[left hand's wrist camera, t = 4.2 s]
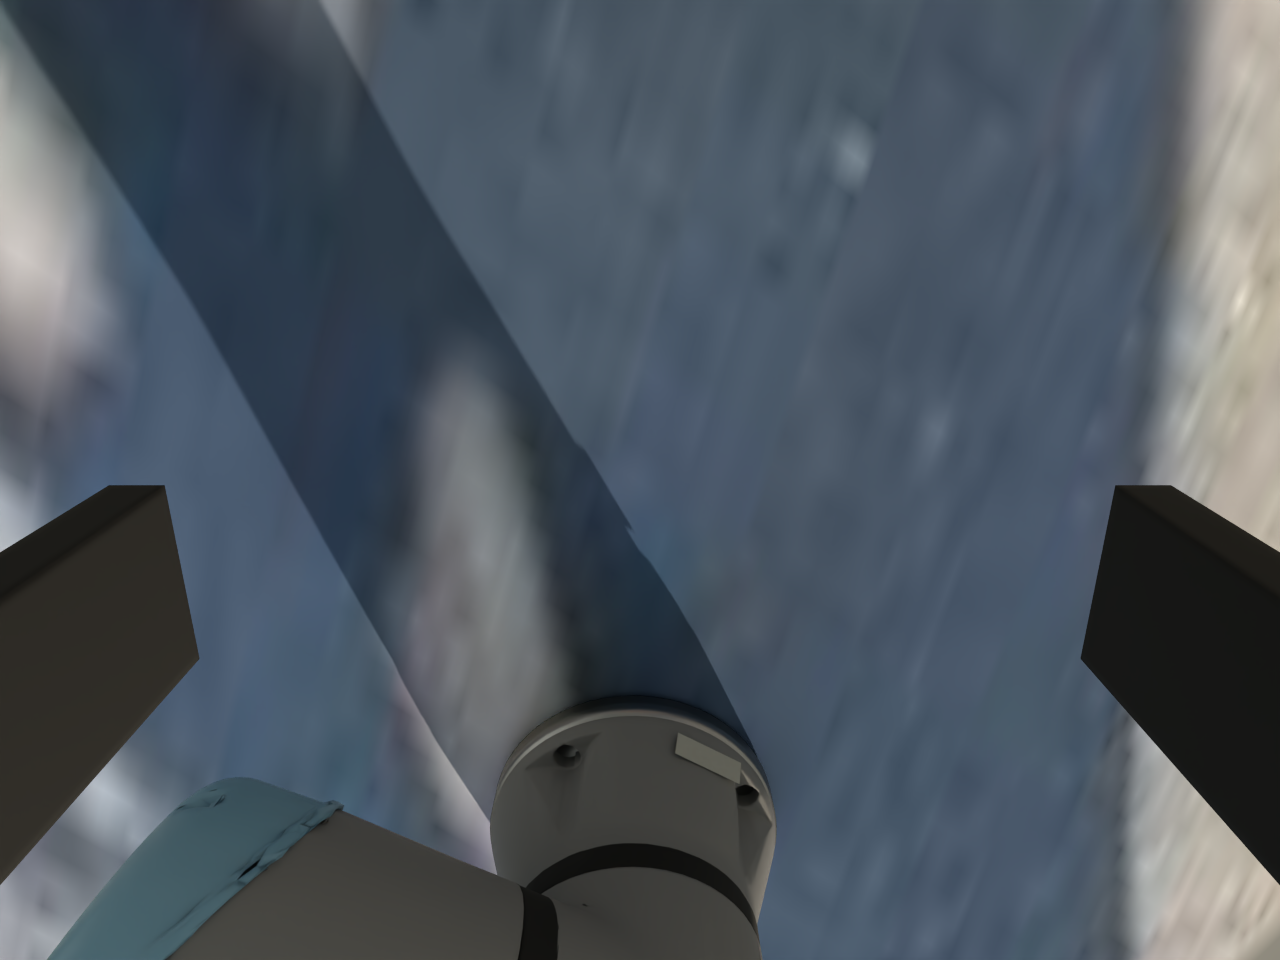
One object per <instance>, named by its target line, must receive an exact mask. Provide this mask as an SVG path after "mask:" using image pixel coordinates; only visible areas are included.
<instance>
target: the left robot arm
mask: <svg viewBox="0 0 1280 960" xmlns="http://www.w3.org/2000/svg"><path fill="white" fill-rule="evenodd" d="M198 660H199V654H198V649H197V644H196V639H195V634H194V629H193V624H192V619H191V615H190V610H189V605H188V600H187V595H186V590H185V585H184V580H183V575H182V570H181V565H180V560H179V555H178V550H177V545H176V540H175V535H174V530H173V525H172V520H171V515H170V510H169V505H168V500H167V495H166V490H165V485H109V486H107V487H106V488H104V489H102V490H101V491H99V492H98V493H96V494H94V495H93V496H91V497H89V498H88V499H86V500H85V501H83V502H81V503H80V504H78V505H76V506H75V507H73V508H72V509H70V510H68V511H67V512H65V513H63V514H62V515H60V516H59V517H57V518H55V519H54V520H52V521H50V522H49V523H47V524H46V525H44V526H42V527H41V528H39V529H37V530H36V531H34V532H33V533H31V534H29V535H28V536H26V537H25V538H23V539H21V540H20V541H18V542H16V543H15V544H13V545H12V546H10V547H8V548H7V549H5V550H3V551H2V552H0V885H1V884H2V882H3V881H4V880H5V879H6V878H7V877H8V876H9V874H10V873H11V872H12V871H13V870H14V869H15V868H16V866H17V865H18V864H19V863H20V862H21V861H22V860H23V859H24V857H25V856H26V855H27V854H28V853H29V852H30V851H31V849H32V848H33V847H34V846H35V845H36V844H37V843H38V841H39V840H40V839H41V838H42V837H43V836H44V835H45V834H46V832H47V831H48V830H49V829H50V828H51V827H52V826H53V824H54V823H55V822H56V821H57V820H58V819H59V818H60V816H61V815H62V814H63V813H64V812H65V811H66V810H67V809H68V807H69V806H70V805H71V804H72V803H73V802H74V801H75V799H76V798H77V797H78V796H79V795H80V794H81V793H82V791H83V790H84V789H85V788H86V787H87V786H88V785H89V784H90V782H91V781H92V780H93V779H94V778H95V777H96V776H97V774H98V773H99V772H100V771H101V770H102V769H103V768H104V766H105V765H106V764H107V763H108V762H109V761H110V760H111V759H112V757H113V756H114V755H115V754H116V753H117V752H118V751H119V749H120V748H121V747H122V746H123V745H124V744H125V743H126V742H127V740H128V739H129V738H130V737H131V736H132V735H133V734H134V732H135V731H136V730H137V729H138V728H139V727H140V726H141V724H142V723H143V722H144V721H145V720H146V719H147V718H148V717H149V715H150V714H151V713H152V712H153V711H154V710H155V709H156V707H157V706H158V705H159V704H160V703H161V702H162V701H163V699H164V698H165V697H166V696H167V695H168V694H169V693H170V692H171V690H172V689H173V688H174V687H175V686H176V685H177V684H178V682H179V681H180V680H181V679H182V678H183V677H184V676H185V674H186V673H187V672H188V671H189V670H190V669H191V668H192V667H193V665H194V664H195V663H196V662H197V661H198ZM1081 660H1082V661H1083V662H1084V663H1085V664H1086V665H1087V667H1088V668H1089V669H1090V670H1091V671H1092V672H1093V673H1094V674H1095V676H1096V677H1097V678H1098V679H1099V680H1100V681H1101V682H1102V684H1103V685H1104V686H1105V687H1106V688H1107V689H1108V690H1109V692H1110V693H1111V694H1112V695H1113V696H1114V697H1115V698H1116V699H1117V701H1118V702H1119V703H1120V704H1121V705H1122V706H1123V707H1124V709H1125V710H1126V711H1127V712H1128V713H1129V714H1130V715H1131V717H1132V718H1133V719H1134V720H1135V721H1136V722H1137V723H1138V724H1139V726H1140V727H1141V728H1142V729H1143V730H1144V731H1145V732H1146V734H1147V735H1148V736H1149V737H1150V738H1151V739H1152V740H1153V742H1154V743H1155V744H1156V745H1157V746H1158V747H1159V748H1160V749H1161V751H1162V752H1163V753H1164V754H1165V755H1166V756H1167V757H1168V759H1169V760H1170V761H1171V762H1172V763H1173V764H1174V765H1175V766H1176V768H1177V769H1178V770H1179V771H1180V772H1181V773H1182V774H1183V776H1184V777H1185V778H1186V779H1187V780H1188V781H1189V782H1190V784H1191V785H1192V786H1193V787H1194V788H1195V789H1196V790H1197V791H1198V793H1199V794H1200V795H1201V796H1202V797H1203V798H1204V799H1205V801H1206V802H1207V803H1208V804H1209V805H1210V806H1211V807H1212V809H1213V810H1214V811H1215V812H1216V813H1217V814H1218V815H1219V816H1220V818H1221V819H1222V820H1223V821H1224V822H1225V823H1226V824H1227V826H1228V827H1229V828H1230V829H1231V830H1232V831H1233V832H1234V834H1235V835H1236V836H1237V837H1238V838H1239V839H1240V840H1241V841H1242V843H1243V844H1244V845H1245V846H1246V847H1247V848H1248V849H1249V851H1250V852H1251V853H1252V854H1253V855H1254V856H1255V857H1256V859H1257V860H1258V861H1259V862H1260V863H1261V864H1262V865H1263V866H1264V868H1265V869H1266V870H1267V871H1268V872H1269V873H1270V874H1271V876H1272V877H1273V878H1274V879H1275V880H1276V881H1277V882H1278V884H1279V885H1280V552H1278V551H1277V550H1275V549H1273V548H1272V547H1270V546H1268V545H1267V544H1265V543H1264V542H1262V541H1260V540H1259V539H1257V538H1255V537H1254V536H1252V535H1251V534H1249V533H1247V532H1246V531H1244V530H1242V529H1241V528H1239V527H1238V526H1236V525H1234V524H1233V523H1231V522H1230V521H1228V520H1226V519H1225V518H1223V517H1221V516H1220V515H1218V514H1217V513H1215V512H1213V511H1212V510H1210V509H1208V508H1207V507H1205V506H1204V505H1202V504H1200V503H1199V502H1197V501H1195V500H1194V499H1192V498H1191V497H1189V496H1187V495H1186V494H1184V493H1182V492H1181V491H1179V490H1178V489H1176V488H1174V487H1173V486H1171V485H1115V490H1114V495H1113V500H1112V505H1111V510H1110V515H1109V520H1108V525H1107V530H1106V535H1105V540H1104V545H1103V550H1102V555H1101V560H1100V565H1099V570H1098V575H1097V580H1096V585H1095V590H1094V595H1093V600H1092V605H1091V610H1090V615H1089V619H1088V624H1087V629H1086V634H1085V639H1084V644H1083V649H1082V654H1081ZM343 807H344V805H342V804H340V803H339V802H336V801H333V800H332V801H328V802H326V803H323V802H320V801H317V800H314V799H311V798H309V797H306V796H303V795H300V794H297V793H294V792H291V791H289V790H286V789H283V788H280V787H277V786H274V785H271V784H268V783H266V782H263V781H260V780H257V779H252V778H246V777H235V778H228V779H223V780H220V781H217V782H214V783H212V784H210V785H208V786H206V787H204V788H202V789H201V790H199V791H197V792H196V793H194V794H193V795H192V796H190V797H189V798H187V799H186V800H185V801H184V802H183V803H182V804H180V805H179V806H178V807H177V808H176V809H175V810H174V811H173V812H172V813H171V814H170V815H169V816H168V817H167V818H165V819H164V820H163V821H162V822H161V823H160V824H159V825H158V827H157V828H156V829H155V830H154V831H153V832H152V833H151V834H150V835H149V836H148V837H147V838H146V839H145V840H144V841H143V843H142V844H141V845H140V846H139V847H138V848H137V849H136V850H135V851H134V852H133V854H132V855H131V856H130V857H129V858H128V859H127V861H126V862H125V863H124V864H123V865H122V866H121V868H120V869H119V870H118V871H117V872H116V873H115V875H114V876H113V877H112V878H111V879H110V881H109V882H108V883H107V884H106V885H105V886H104V888H103V889H102V890H101V891H100V893H99V894H98V895H97V896H96V897H95V899H94V900H93V901H92V902H91V904H90V905H89V906H88V907H87V909H86V910H85V911H84V912H83V914H82V915H81V916H80V917H79V919H78V920H77V921H76V922H75V924H74V925H73V926H72V928H71V929H70V930H69V931H68V933H67V934H66V935H65V937H64V938H63V939H62V941H61V942H60V943H59V945H58V946H57V947H56V948H55V950H54V951H53V952H52V954H51V955H50V956H49V958H48V959H47V960H762V954H761V948H760V942H759V935H758V928H757V922H758V918H759V914H760V910H761V905H762V901H763V897H764V893H765V888H766V884H767V880H768V876H769V871H770V867H771V863H772V859H773V854H774V848H775V843H776V817H775V811H774V805H773V801H772V796H771V791H770V787H769V783H768V780H767V777H766V774H765V772H764V769H763V767H762V765H761V763H760V762H759V760H758V758H757V756H756V755H755V754H754V752H753V751H752V749H751V748H750V747H749V746H748V744H747V743H746V742H745V741H744V740H743V739H742V738H741V737H740V736H739V735H738V734H737V733H736V732H735V731H734V730H732V729H731V728H730V727H728V726H727V725H726V724H724V723H723V722H722V721H720V720H718V719H717V718H715V717H713V716H712V715H710V714H708V713H706V712H704V711H702V710H700V709H697V708H695V707H692V706H689V705H687V704H684V703H680V702H676V701H673V700H668V699H663V698H657V697H647V696H619V697H610V698H603V699H598V700H594V701H590V702H586V703H583V704H580V705H577V706H574V707H572V708H569V709H567V710H565V711H563V712H560V713H559V714H557V715H555V716H553V717H551V718H550V719H548V720H547V721H545V722H544V723H542V724H541V725H539V726H538V727H537V728H536V729H534V730H533V731H532V732H531V733H530V734H528V735H527V737H526V738H525V739H524V740H523V741H522V742H521V743H520V744H519V745H518V746H517V748H516V749H515V750H514V752H513V753H512V754H511V756H510V758H509V759H508V761H507V763H506V765H505V767H504V769H503V771H502V773H501V776H500V779H499V783H498V786H497V790H496V795H495V799H494V804H493V808H492V814H491V822H490V835H491V844H492V851H493V856H494V861H495V866H496V870H497V875H495V874H493V873H490V872H487V871H485V870H482V869H480V868H477V867H475V866H472V865H470V864H467V863H465V862H462V861H460V860H458V859H455V858H453V857H450V856H448V855H446V854H443V853H441V852H439V851H436V850H434V849H432V848H429V847H427V846H425V845H422V844H420V843H417V842H415V841H413V840H410V839H408V838H406V837H403V836H401V835H399V834H396V833H394V832H391V831H389V830H387V829H384V828H382V827H380V826H377V825H375V824H373V823H370V822H368V821H365V820H363V819H361V818H358V817H356V816H354V815H351V814H349V813H347V812H344V811H342V810H343Z"/></svg>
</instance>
